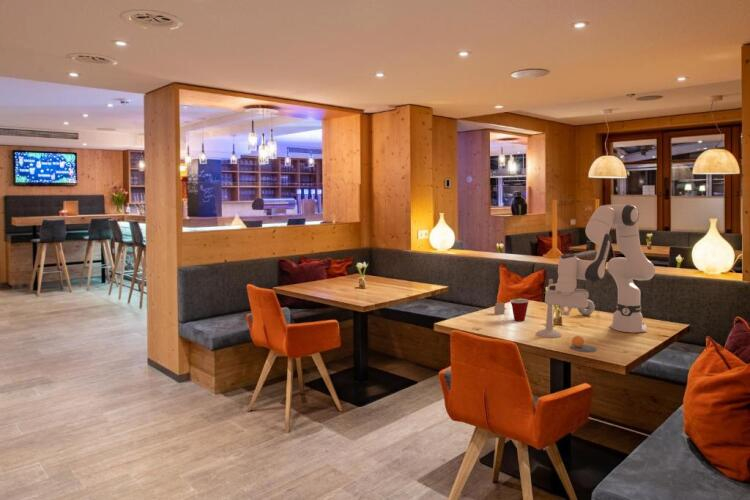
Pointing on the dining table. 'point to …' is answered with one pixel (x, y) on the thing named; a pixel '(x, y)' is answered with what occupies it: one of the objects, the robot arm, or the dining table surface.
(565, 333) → the dining table surface
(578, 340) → the ball
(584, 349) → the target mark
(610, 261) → the robot arm
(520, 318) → the plastic cup
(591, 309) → the donut
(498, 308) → the architectural model
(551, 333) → the candlestick
